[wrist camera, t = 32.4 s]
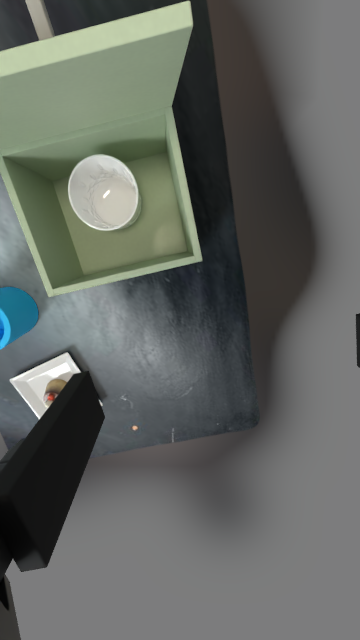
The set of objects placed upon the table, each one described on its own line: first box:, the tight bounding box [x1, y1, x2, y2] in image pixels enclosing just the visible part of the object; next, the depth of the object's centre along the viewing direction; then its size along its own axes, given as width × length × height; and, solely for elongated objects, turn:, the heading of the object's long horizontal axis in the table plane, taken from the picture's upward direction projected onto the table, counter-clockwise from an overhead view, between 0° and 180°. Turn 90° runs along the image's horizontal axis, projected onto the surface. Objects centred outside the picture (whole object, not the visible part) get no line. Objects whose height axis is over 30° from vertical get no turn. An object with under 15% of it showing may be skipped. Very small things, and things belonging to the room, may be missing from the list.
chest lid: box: [0, 0, 193, 150], centre depth 18 cm, size 16×19×6 cm
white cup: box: [68, 154, 142, 231], centre depth 35 cm, size 8×8×10 cm
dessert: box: [10, 352, 102, 419], centre depth 47 cm, size 12×12×5 cm
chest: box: [0, 106, 202, 297], centre depth 35 cm, size 16×19×13 cm
